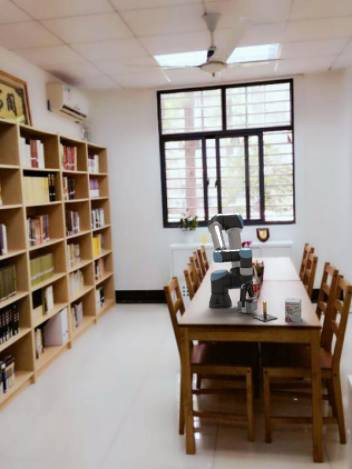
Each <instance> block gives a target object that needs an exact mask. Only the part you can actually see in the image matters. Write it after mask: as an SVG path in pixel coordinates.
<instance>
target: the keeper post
mask: <svg viewBox="0 0 352 469" xmlns="http://www.w3.org/2000/svg"><path fill="white" fill-rule="evenodd" d="M267 307H268V306H267V301H262V312H263V314H258V315H254V316H252V318H253V319H254V320H255V319H256V320H258V321H260V322H262V323H264V322H269V321H274V320H277V319H278V317H277V316H274V315H272V314H269V313H267V311H268V309H267Z"/></svg>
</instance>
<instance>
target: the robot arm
mask: <svg viewBox="0 0 352 469" xmlns="http://www.w3.org/2000/svg"><path fill="white" fill-rule="evenodd" d="M244 227H245V225H244V219H243V216H242V214H241V213H240V212H232V213H230V212H229V213H217V214H215V215H213V216H212V217H211V218H210V219H209V221H208V223H207V230H208V233H209V234H210V235H211V236H210V237H211V240H212V245H213V249H214V251H213V252H212V258H213V259H212V261H213V262H214V263H215V264H216V263H217V264H218V263H219V264H222V263H231V268H230V269H229V271H228V269H218V270H214V271H211V273H210V297H209V301H208V306H209V307H210V308H213V309H226V308H231V307H232V306H233V302H232V299H231V295H230V294H229V292H230V291H229V290H239V301H240V302H242V312H241V313H246V302H245V301H246V298H247V296H248V298H247V299H254V298H255V288H254V280H253V279H254V276H253V272H254V269H253V268H254V267H253V250H252V248H249V247H243V244H242V237H241V233H242V231H243V230H244ZM223 231H224V233H225V234H226V235H227V240H228V247H229V249H228V248H227V246H226V243H225V239H224V235H223ZM247 294H248V295H247Z"/></svg>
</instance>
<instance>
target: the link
mask: <svg viewBox="0 0 352 469" xmlns="http://www.w3.org/2000/svg"><path fill="white" fill-rule="evenodd" d="M245 302H246V313H247V314H253V313H254V312H256V311H257V310H258V299H254V298H253V299H248V298H247V297H246V301H245ZM236 304H237V312H239V313H243V312H242V302H240V300H238V301H237V303H236Z"/></svg>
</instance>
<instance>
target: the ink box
mask: <svg viewBox="0 0 352 469" xmlns="http://www.w3.org/2000/svg"><path fill="white" fill-rule="evenodd" d="M284 318H285V319H284V321H285V322H291V323H301V321H302V298H291V297H286V299H285V301H284Z"/></svg>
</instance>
